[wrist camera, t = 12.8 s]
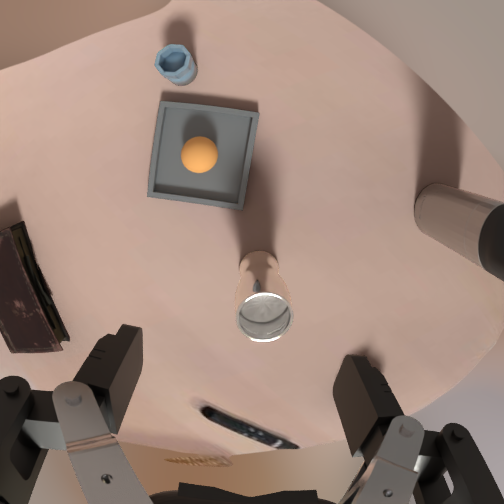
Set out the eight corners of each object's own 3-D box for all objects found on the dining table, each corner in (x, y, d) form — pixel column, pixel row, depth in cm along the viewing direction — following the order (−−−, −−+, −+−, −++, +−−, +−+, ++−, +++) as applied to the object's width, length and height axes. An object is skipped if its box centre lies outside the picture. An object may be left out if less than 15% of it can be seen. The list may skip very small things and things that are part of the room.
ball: (222, 139, 42) (218, 138, 37) (216, 173, 44) (212, 177, 39) (187, 135, 42) (180, 133, 37) (182, 169, 43) (174, 171, 39)
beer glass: (230, 255, 48) (224, 300, 34) (273, 241, 48) (286, 282, 34) (244, 294, 50) (245, 349, 36) (286, 281, 50) (301, 333, 36)
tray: (258, 114, 42) (259, 112, 40) (242, 208, 46) (242, 210, 44) (163, 102, 41) (160, 101, 39) (150, 194, 45) (147, 196, 43)
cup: (200, 59, 39) (192, 45, 32) (194, 87, 40) (185, 76, 33) (171, 57, 38) (159, 44, 32) (165, 84, 40) (152, 74, 33)
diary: (19, 342, 55) (8, 354, 50) (-23, 241, 47) (-38, 249, 42) (75, 338, 54) (64, 352, 49) (28, 219, 46) (11, 226, 41)
